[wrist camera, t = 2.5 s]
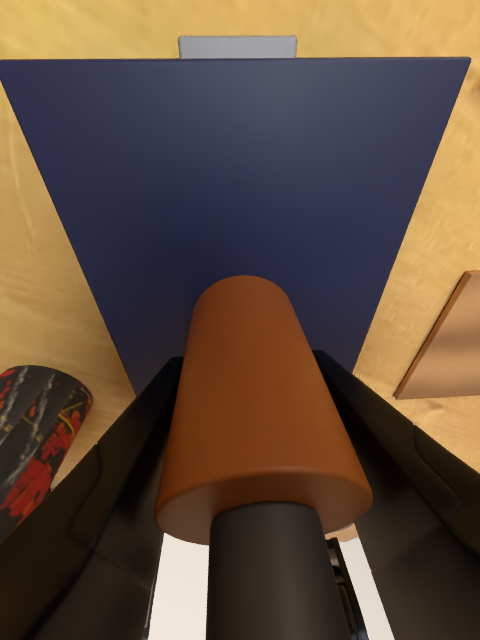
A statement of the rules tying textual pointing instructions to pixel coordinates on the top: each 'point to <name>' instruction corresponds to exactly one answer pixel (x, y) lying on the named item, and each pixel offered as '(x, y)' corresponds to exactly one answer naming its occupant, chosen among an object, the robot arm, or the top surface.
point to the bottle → (259, 468)
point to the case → (233, 179)
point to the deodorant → (35, 435)
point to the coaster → (449, 349)
